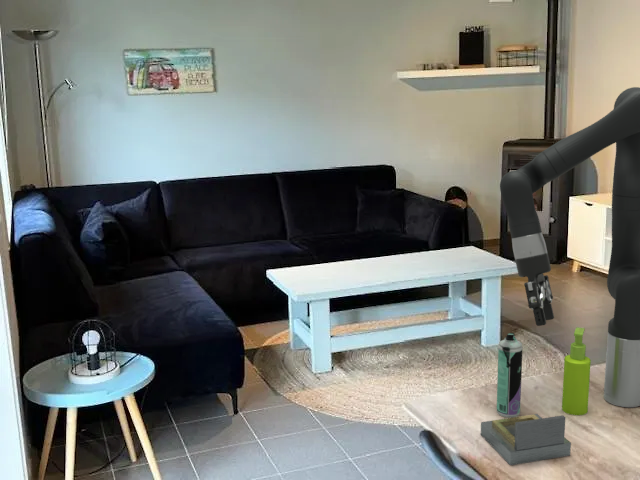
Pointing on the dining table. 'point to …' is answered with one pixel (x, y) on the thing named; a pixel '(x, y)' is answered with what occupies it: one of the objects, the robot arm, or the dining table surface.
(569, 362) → the soap dispenser
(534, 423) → the grey and tan frame
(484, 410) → the dining table surface
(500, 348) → the spray can
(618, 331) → the robot arm
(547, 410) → the dining table surface
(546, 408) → the dining table surface
